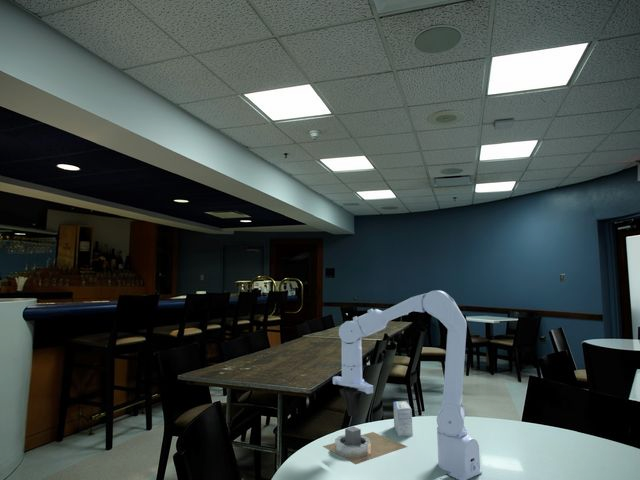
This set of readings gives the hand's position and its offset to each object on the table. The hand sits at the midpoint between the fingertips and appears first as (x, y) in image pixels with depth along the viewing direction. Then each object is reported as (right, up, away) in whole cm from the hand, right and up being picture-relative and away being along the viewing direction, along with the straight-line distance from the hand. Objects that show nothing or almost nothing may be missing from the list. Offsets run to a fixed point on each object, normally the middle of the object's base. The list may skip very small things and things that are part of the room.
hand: (352, 415), depth 109 cm
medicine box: (+17, -12, +13) cm, 24 cm away
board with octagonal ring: (+4, -10, +1) cm, 11 cm away
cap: (0, -9, -1) cm, 9 cm away
